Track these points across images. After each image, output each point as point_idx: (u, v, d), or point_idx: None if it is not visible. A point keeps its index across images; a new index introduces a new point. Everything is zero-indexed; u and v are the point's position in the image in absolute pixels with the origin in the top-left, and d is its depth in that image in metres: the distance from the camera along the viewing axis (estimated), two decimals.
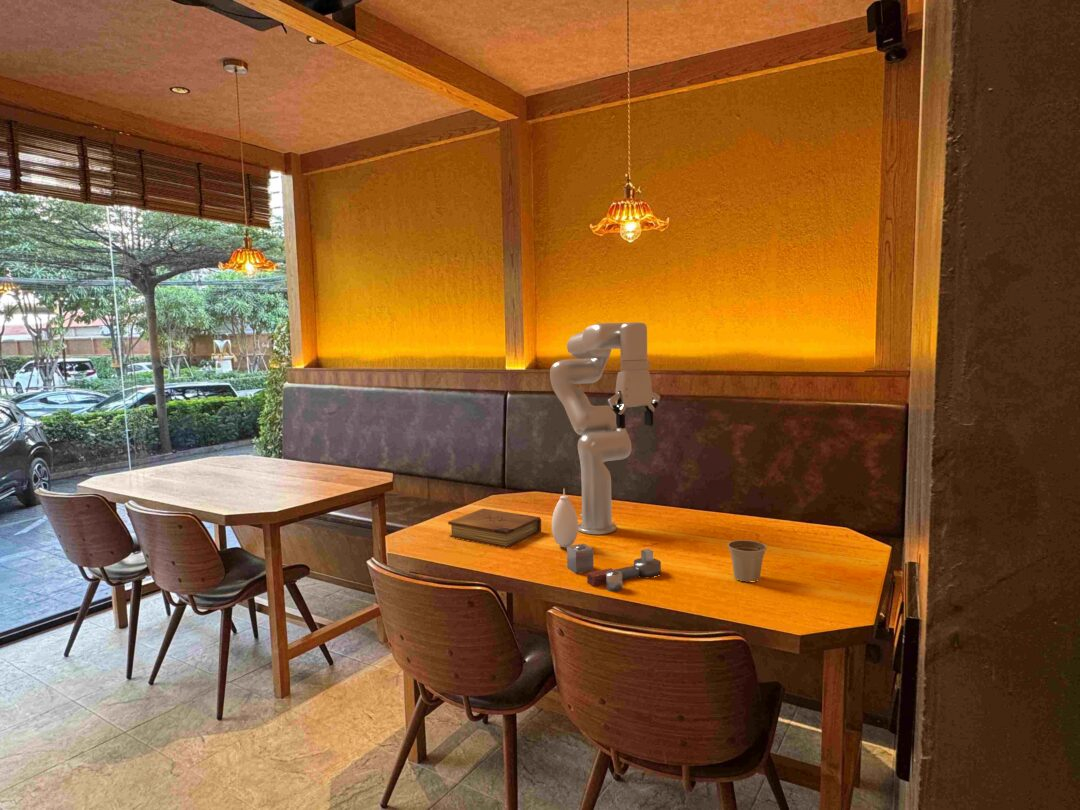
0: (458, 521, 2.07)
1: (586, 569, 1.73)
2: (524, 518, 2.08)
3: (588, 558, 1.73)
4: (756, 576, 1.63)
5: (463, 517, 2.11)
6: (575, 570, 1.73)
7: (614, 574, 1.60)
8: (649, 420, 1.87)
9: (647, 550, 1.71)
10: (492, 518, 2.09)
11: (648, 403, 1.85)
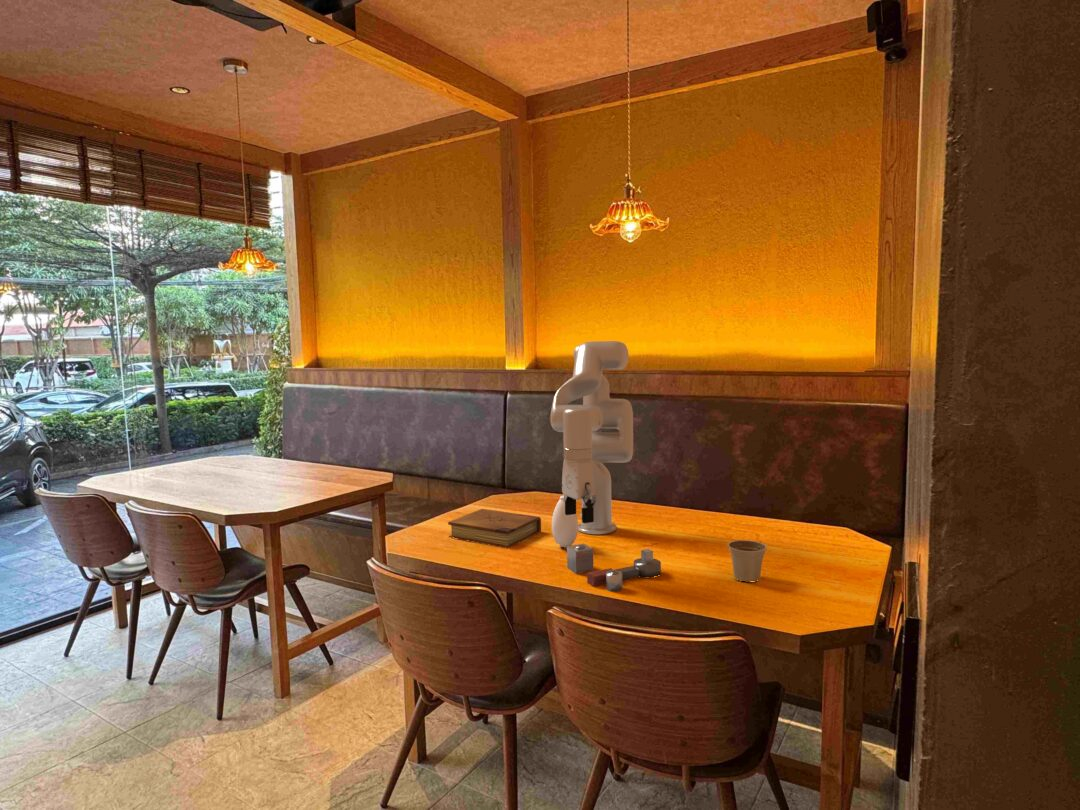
0: (458, 521, 2.07)
1: (586, 569, 1.73)
2: (524, 518, 2.08)
3: (588, 558, 1.73)
4: (756, 576, 1.63)
5: (463, 517, 2.11)
6: (575, 570, 1.73)
7: (614, 574, 1.60)
8: (574, 508, 1.78)
9: (647, 550, 1.71)
10: (492, 518, 2.09)
11: None
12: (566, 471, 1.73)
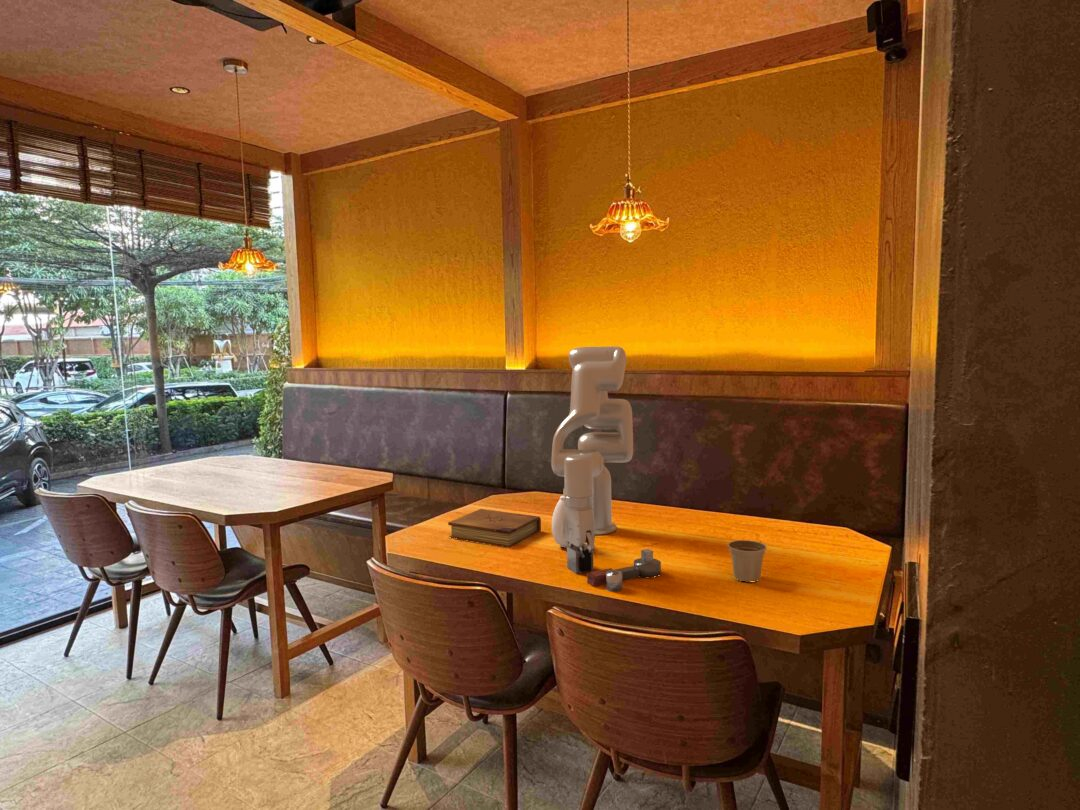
0: (458, 521, 2.06)
1: None
2: (524, 518, 2.09)
3: None
4: (756, 576, 1.63)
5: (462, 518, 2.11)
6: (575, 570, 1.73)
7: (614, 574, 1.60)
8: None
9: (647, 550, 1.71)
10: (492, 518, 2.09)
11: None
12: (567, 517, 1.74)
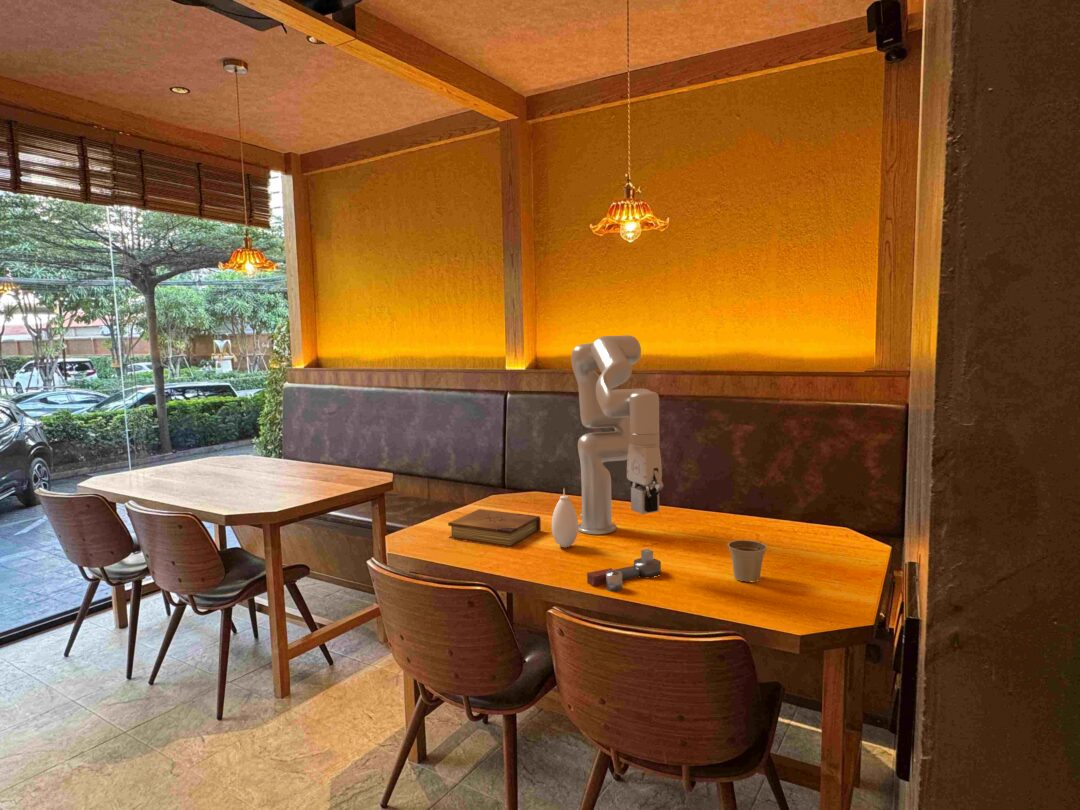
0: (458, 522, 2.06)
1: None
2: (524, 517, 2.09)
3: None
4: (756, 576, 1.63)
5: (462, 518, 2.10)
6: (641, 510, 1.67)
7: (614, 574, 1.60)
8: None
9: (647, 550, 1.71)
10: (492, 518, 2.09)
11: None
12: (632, 456, 1.68)
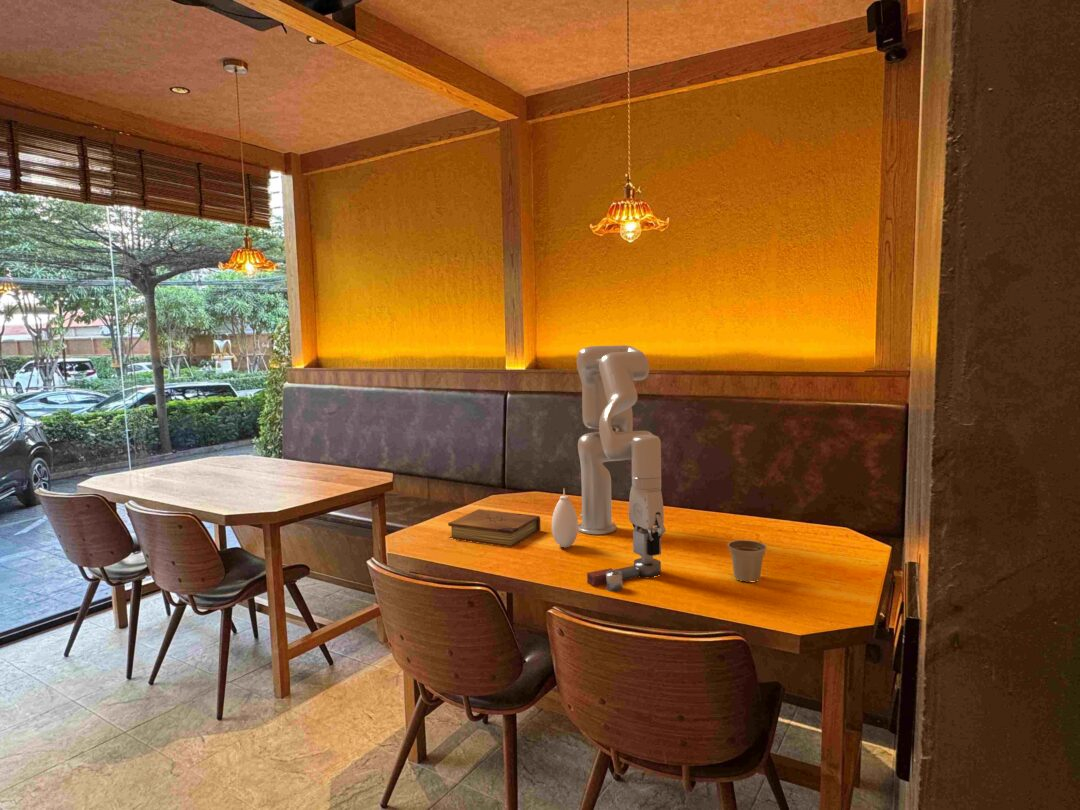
0: (458, 522, 2.06)
1: None
2: (524, 517, 2.09)
3: None
4: (756, 576, 1.63)
5: (462, 518, 2.10)
6: (643, 553, 1.68)
7: (614, 574, 1.60)
8: None
9: None
10: (492, 518, 2.09)
11: None
12: (634, 499, 1.69)
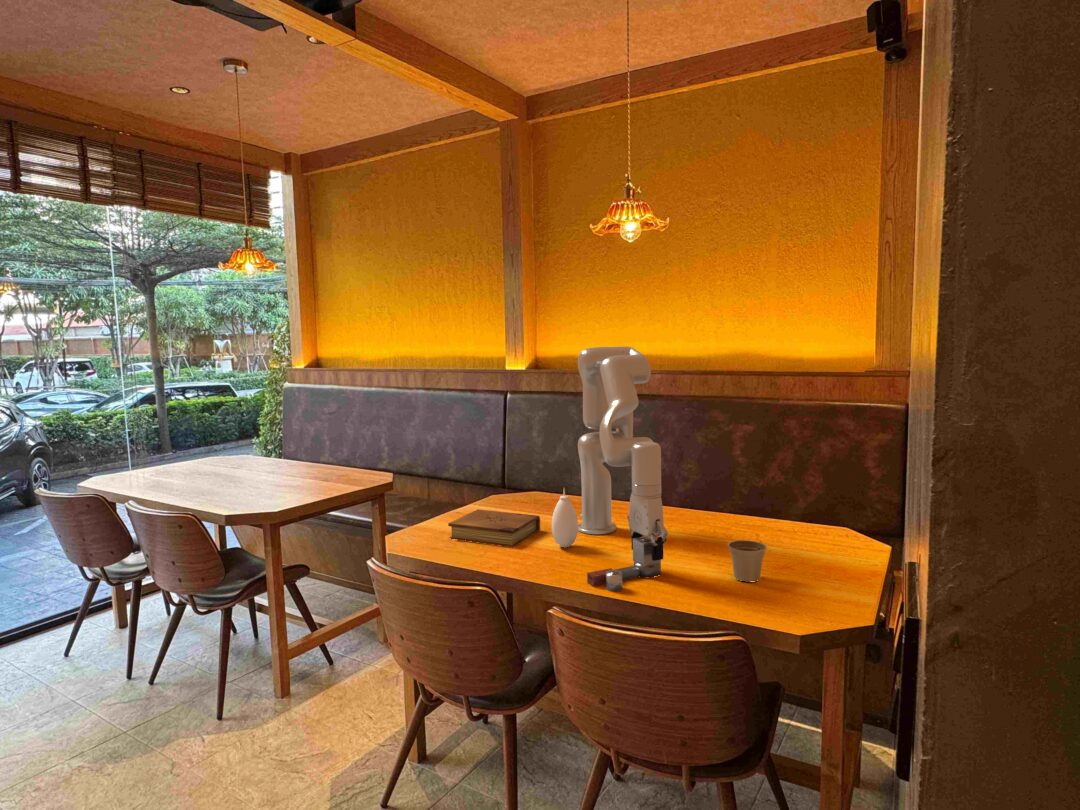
0: (458, 522, 2.05)
1: (653, 562, 1.69)
2: (524, 517, 2.09)
3: None
4: (756, 576, 1.63)
5: (462, 518, 2.10)
6: (642, 563, 1.68)
7: (614, 574, 1.60)
8: None
9: None
10: (492, 518, 2.09)
11: None
12: (634, 506, 1.69)
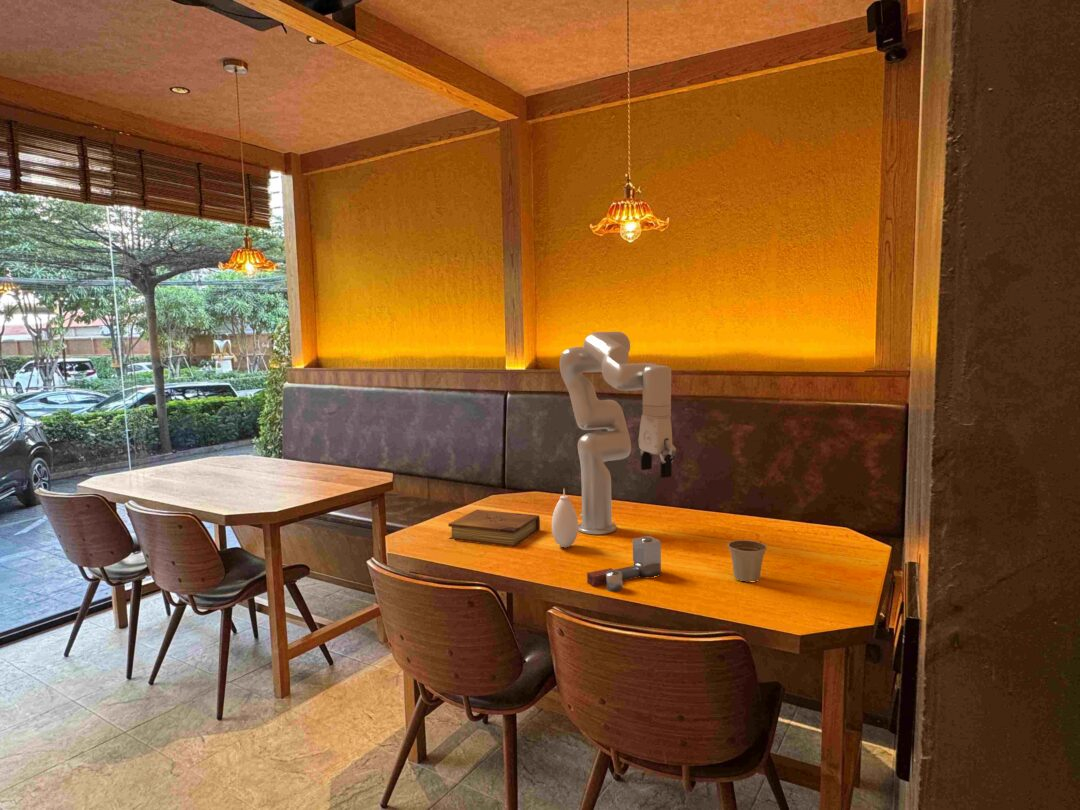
0: (458, 522, 2.05)
1: (653, 562, 1.69)
2: (524, 517, 2.10)
3: (655, 550, 1.69)
4: (756, 576, 1.63)
5: (461, 519, 2.10)
6: (642, 563, 1.68)
7: (614, 574, 1.60)
8: (649, 464, 1.83)
9: None
10: (492, 518, 2.09)
11: None
12: (645, 427, 1.77)
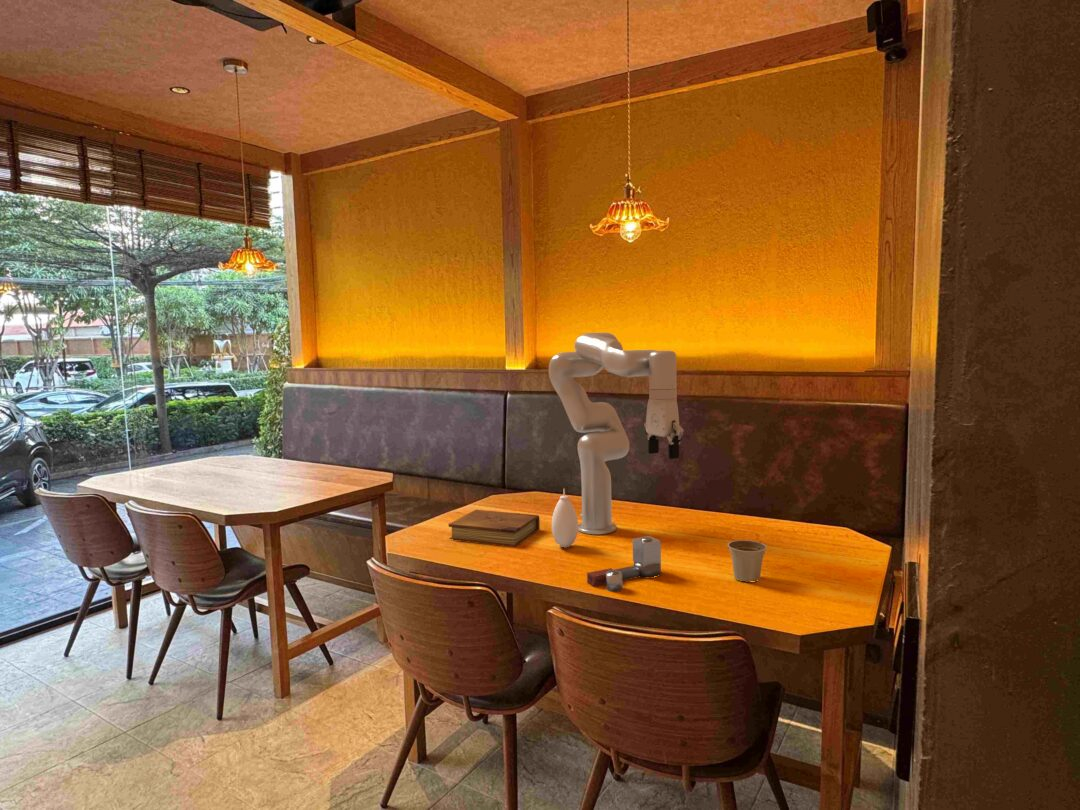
0: (458, 523, 2.05)
1: (653, 562, 1.69)
2: (524, 517, 2.10)
3: (655, 550, 1.69)
4: (756, 576, 1.63)
5: (461, 519, 2.09)
6: (642, 563, 1.68)
7: (614, 574, 1.60)
8: (656, 447, 1.88)
9: None
10: (492, 518, 2.09)
11: None
12: (652, 410, 1.82)
